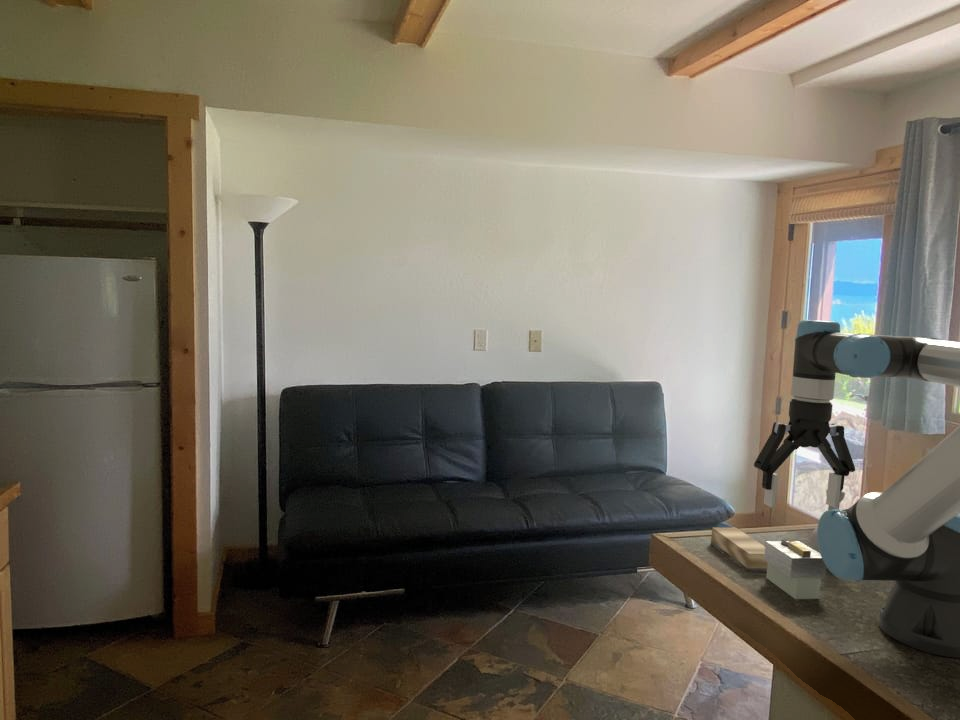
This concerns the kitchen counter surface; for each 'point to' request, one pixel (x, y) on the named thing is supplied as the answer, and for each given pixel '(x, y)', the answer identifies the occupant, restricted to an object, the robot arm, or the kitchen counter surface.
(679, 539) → the kitchen counter surface
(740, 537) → the plane body
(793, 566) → the lever cap
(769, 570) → the block
